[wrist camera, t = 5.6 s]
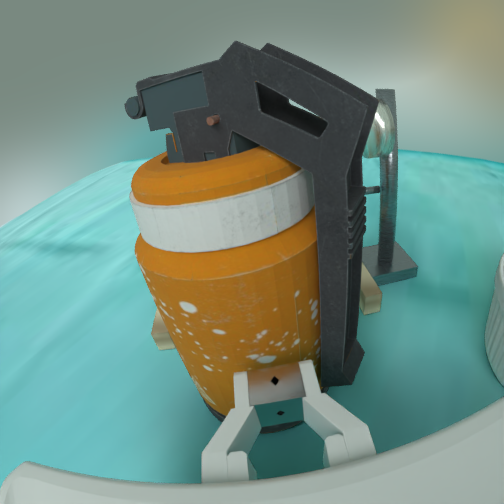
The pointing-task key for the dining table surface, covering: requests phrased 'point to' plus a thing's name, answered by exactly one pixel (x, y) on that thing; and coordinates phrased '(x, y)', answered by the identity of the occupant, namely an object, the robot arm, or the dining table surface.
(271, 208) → the canister
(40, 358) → the dining table surface
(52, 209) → the dining table surface
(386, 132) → the mirror on stand
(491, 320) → the ramekin
